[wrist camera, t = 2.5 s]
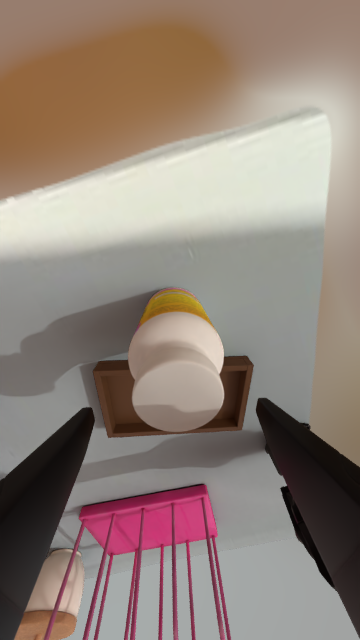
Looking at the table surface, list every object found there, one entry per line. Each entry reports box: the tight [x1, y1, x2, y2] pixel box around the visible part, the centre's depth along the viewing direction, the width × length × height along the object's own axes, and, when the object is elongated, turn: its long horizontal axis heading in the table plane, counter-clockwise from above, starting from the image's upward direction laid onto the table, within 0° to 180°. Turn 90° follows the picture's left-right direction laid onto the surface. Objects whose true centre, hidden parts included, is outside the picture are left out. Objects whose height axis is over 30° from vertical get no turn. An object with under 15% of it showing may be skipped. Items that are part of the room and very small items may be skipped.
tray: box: [93, 356, 254, 438], centre depth 24 cm, size 20×12×2 cm, turn 90°
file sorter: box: [44, 485, 231, 640], centre depth 30 cm, size 17×25×16 cm
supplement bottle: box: [128, 287, 224, 432], centre depth 15 cm, size 7×7×13 cm
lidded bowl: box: [14, 549, 85, 640], centre depth 36 cm, size 13×13×11 cm
